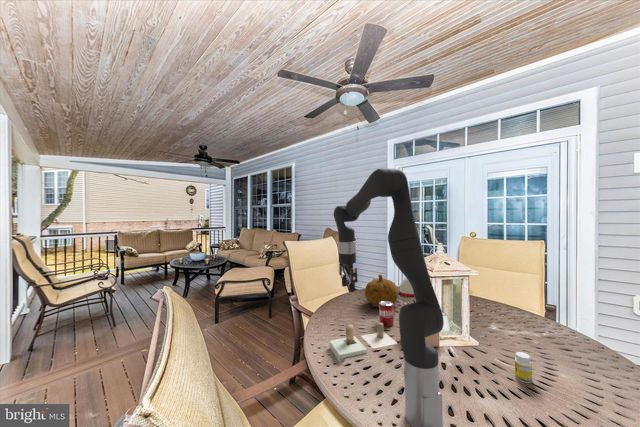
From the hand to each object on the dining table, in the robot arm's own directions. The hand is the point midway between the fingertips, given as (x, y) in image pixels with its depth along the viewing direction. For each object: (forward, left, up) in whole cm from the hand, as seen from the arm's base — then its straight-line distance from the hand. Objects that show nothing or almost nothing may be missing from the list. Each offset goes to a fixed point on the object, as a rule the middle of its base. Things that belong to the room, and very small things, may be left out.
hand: (348, 288), depth 113 cm
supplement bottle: (-39, -48, -26) cm, 67 cm away
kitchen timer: (+53, -69, -26) cm, 91 cm away
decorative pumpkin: (+40, -39, -26) cm, 62 cm away
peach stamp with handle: (-8, -30, -26) cm, 40 cm away
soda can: (+13, -26, -26) cm, 39 cm away
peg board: (-2, +2, -26) cm, 26 cm away
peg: (0, 0, -26) cm, 26 cm away
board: (0, -14, -26) cm, 30 cm away
